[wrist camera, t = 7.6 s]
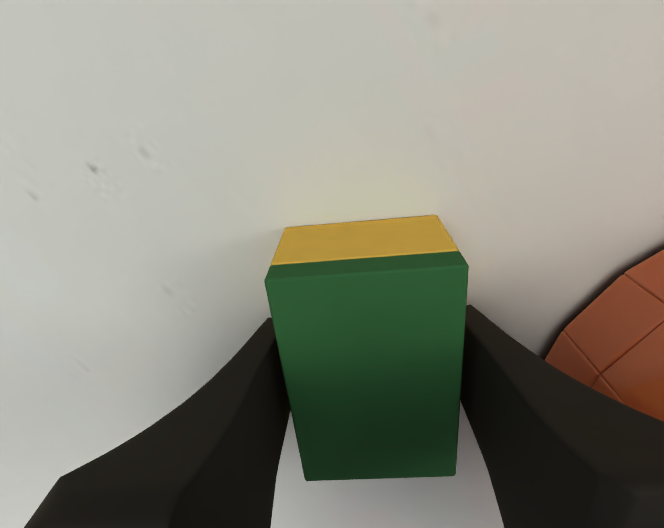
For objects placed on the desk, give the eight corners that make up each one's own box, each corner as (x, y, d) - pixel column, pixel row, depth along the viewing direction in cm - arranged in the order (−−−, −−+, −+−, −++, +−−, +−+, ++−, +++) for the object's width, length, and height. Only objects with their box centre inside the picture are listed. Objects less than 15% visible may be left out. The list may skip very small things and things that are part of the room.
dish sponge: (313, 399, 15) (304, 482, 12) (284, 226, 12) (263, 280, 9) (433, 393, 14) (456, 477, 11) (437, 214, 11) (470, 264, 8)
